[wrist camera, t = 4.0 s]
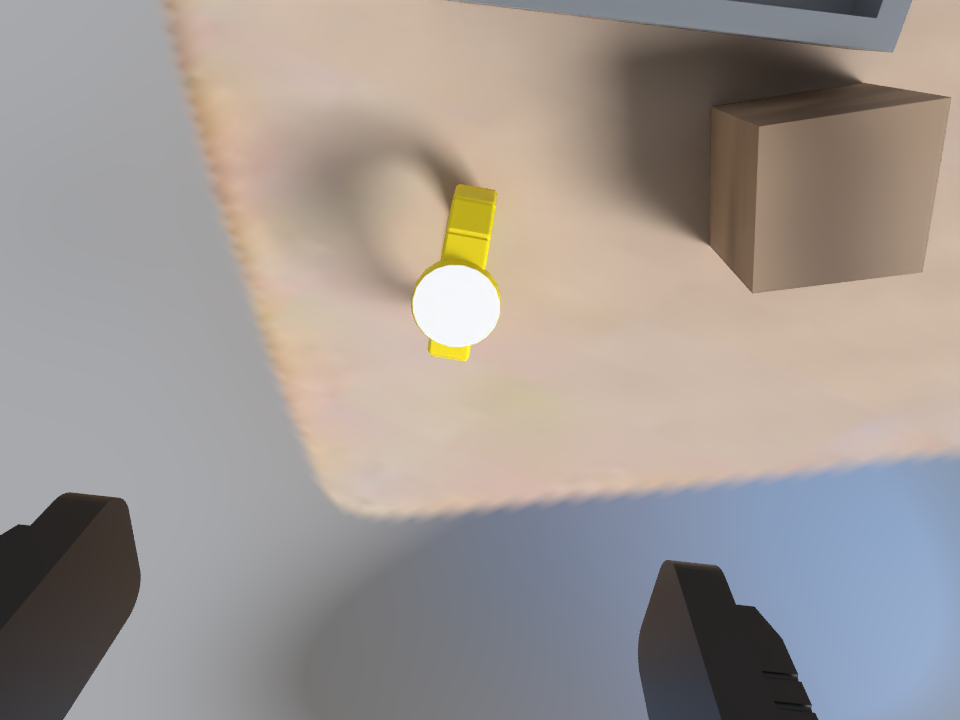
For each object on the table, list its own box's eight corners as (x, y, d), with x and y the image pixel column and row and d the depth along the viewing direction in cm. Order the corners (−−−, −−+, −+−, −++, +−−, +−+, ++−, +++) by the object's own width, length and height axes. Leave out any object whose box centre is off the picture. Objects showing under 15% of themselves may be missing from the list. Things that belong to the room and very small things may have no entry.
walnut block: (861, 82, 22) (951, 97, 17) (846, 226, 24) (922, 272, 20) (710, 106, 22) (759, 126, 18) (709, 244, 25) (752, 293, 20)
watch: (443, 169, 24) (425, 195, 18) (516, 183, 24) (520, 213, 19) (421, 319, 26) (399, 381, 21) (488, 331, 26) (483, 396, 21)
